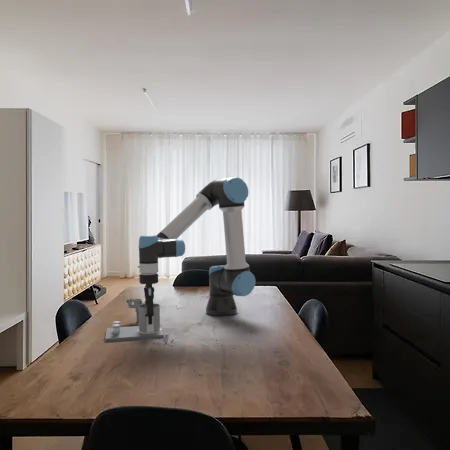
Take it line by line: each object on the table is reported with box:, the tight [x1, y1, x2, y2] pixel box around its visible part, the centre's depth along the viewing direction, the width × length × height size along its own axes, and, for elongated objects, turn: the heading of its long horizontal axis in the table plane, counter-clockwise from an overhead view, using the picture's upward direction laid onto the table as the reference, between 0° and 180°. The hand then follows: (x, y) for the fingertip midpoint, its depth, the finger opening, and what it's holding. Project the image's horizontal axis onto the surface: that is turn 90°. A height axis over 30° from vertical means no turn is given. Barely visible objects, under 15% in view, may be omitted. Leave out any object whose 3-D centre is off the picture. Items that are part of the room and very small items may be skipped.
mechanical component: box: [126, 298, 146, 323], centre depth 198 cm, size 3×10×10 cm, turn 78°
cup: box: [138, 302, 161, 333], centre depth 178 cm, size 8×8×10 cm
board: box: [104, 320, 165, 343], centre depth 177 cm, size 22×16×5 cm
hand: (149, 329), depth 178 cm, fingers closed on cup, 8 cm apart
